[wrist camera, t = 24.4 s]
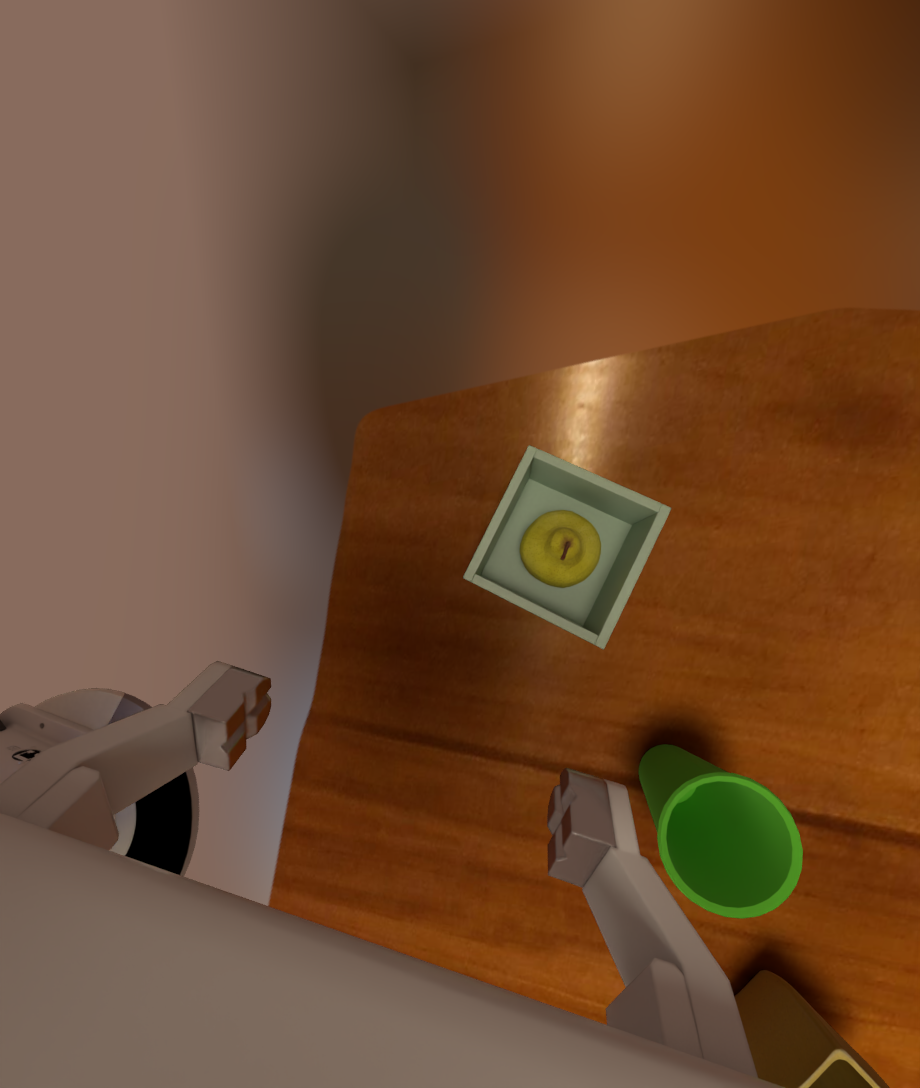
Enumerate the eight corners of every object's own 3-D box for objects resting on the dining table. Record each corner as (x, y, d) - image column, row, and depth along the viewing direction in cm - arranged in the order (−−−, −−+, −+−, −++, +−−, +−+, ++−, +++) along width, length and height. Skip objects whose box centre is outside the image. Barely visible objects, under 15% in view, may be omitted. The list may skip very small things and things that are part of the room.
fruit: (550, 503, 41) (568, 470, 29) (605, 547, 40) (647, 530, 28) (506, 556, 41) (506, 544, 29) (560, 601, 40) (583, 607, 28)
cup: (624, 826, 38) (671, 922, 27) (609, 724, 39) (649, 777, 28) (726, 821, 37) (817, 918, 26) (708, 717, 38) (789, 769, 27)
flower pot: (770, 1093, 35) (862, 1268, 26) (688, 1005, 36) (748, 1142, 27) (843, 1018, 35) (959, 1167, 26) (758, 933, 36) (841, 1046, 27)
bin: (470, 579, 42) (462, 577, 34) (524, 470, 43) (529, 444, 35) (585, 637, 40) (603, 649, 33) (640, 522, 41) (671, 507, 33)
